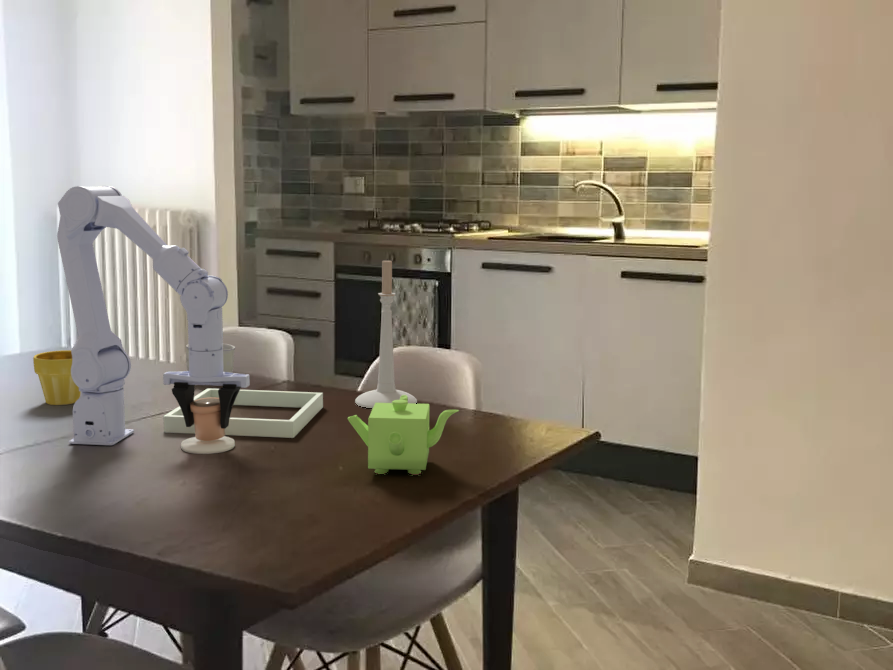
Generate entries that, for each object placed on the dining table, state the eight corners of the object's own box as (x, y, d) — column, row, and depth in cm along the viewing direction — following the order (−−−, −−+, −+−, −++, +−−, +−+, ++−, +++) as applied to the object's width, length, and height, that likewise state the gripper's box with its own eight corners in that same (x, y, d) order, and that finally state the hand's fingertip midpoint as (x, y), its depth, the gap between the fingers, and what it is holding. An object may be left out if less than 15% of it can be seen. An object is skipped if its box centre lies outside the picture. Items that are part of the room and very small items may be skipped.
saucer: (225, 455, 168) (225, 450, 168) (173, 452, 169) (173, 448, 169) (241, 440, 177) (241, 436, 177) (191, 438, 178) (191, 434, 178)
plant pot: (54, 410, 197) (51, 361, 196) (25, 402, 203) (23, 354, 202) (100, 401, 205) (98, 354, 204) (71, 393, 211) (69, 348, 210)
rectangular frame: (293, 437, 180) (293, 421, 179) (163, 432, 182) (163, 416, 181) (322, 407, 203) (322, 392, 203) (207, 402, 205) (207, 388, 205)
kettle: (403, 450, 173) (404, 386, 171) (462, 468, 163) (464, 401, 161) (335, 467, 162) (335, 399, 160) (394, 487, 152) (395, 416, 151)
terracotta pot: (221, 441, 170) (218, 408, 169) (188, 441, 171) (185, 407, 170) (231, 429, 176) (228, 397, 175) (199, 429, 177) (196, 397, 175)
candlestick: (389, 393, 217) (389, 255, 212) (429, 403, 208) (431, 259, 203) (342, 402, 208) (342, 257, 203) (383, 413, 199) (383, 262, 194)
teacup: (197, 373, 234) (196, 340, 233) (242, 375, 233) (241, 341, 232) (173, 386, 221) (172, 350, 219) (220, 388, 219) (219, 352, 218)
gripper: (254, 346, 173) (255, 422, 176) (173, 343, 175) (175, 419, 177) (242, 353, 166) (243, 432, 169) (157, 350, 168) (160, 429, 170)
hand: (207, 426), depth 172 cm, fingers closed on terracotta pot, 5 cm apart
